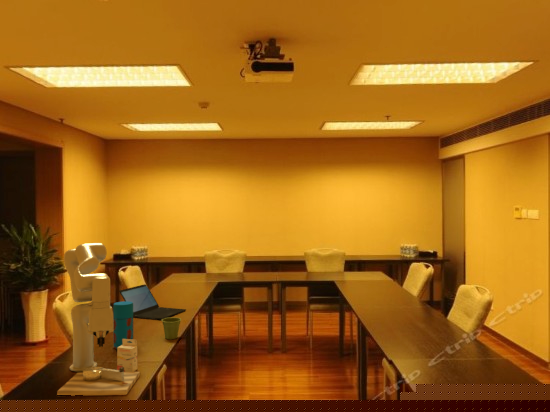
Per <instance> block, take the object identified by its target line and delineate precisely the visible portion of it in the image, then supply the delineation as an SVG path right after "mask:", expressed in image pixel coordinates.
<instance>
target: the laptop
mask: <svg viewBox="0 0 550 412" xmlns="http://www.w3.org/2000/svg"><path fill="white" fill-rule="evenodd" d="M118 292H119V294H120V295H121V297H122V298H123V301H129V302H133V317H135V318H138V319H145V320H146V319H147V320H157V321H158V320H159V321H162V319H164V318H172V317H173V316H176V315H178V313H179V314H180V313H183V311H184V312H186V311H187V309H186V308H174V307H173V308H172V307H160V306H159V304H158V302H157V300H156V298H155V296H154V295H153V293H152V292H151V290H150V288H149V287H148V285H147V284H145V283H144V284H140V285H136V286H132V287H129V288H128V287H127V288H124V289H121V290H118Z"/></svg>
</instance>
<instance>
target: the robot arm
mask: <svg viewBox="0 0 550 412" xmlns="http://www.w3.org/2000/svg"><path fill="white" fill-rule="evenodd" d="M106 257H107V248H106V245H104V243H102V242H93V243H91V242H90V243H82V244H78V245H77V246H76V248H72V249H68V250H66V251H65V253H64V255H63V262H64V263H63V264H64V267H65V270H66V271H67V273H68V276H69V281H70V288H71V297H72V301H74V302H76V303H81V304H76V305H74V306H73V307H72V308H71V310H70V318H71V323H72V349H73V350H72V364H71V365H70V366H69V370H70V371H72V372H76V373H81V372H83V371H84V370H85V369H87V368H91V367H98V363H97V361H94V359H95V354H94V353H95V347H94V346H95V345H94V343H95V342H94V337H96V339H97V345H98V347H99V348H101V347H104V345H105V340H106V339H105V337H106V336H107V335H108V334H109V333H113V331H114V329H113V306H111V278H110V276H108V274H107V273H106V272H105V273H104V272H103V273H93V272H94V271H96V270H97V269H98V267H99V265H100V263H101V262H103V261H104V260H106ZM85 302H87V303H85ZM100 332H101V333H102V334H101V335H100Z"/></svg>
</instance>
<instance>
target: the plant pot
mask: <svg viewBox="0 0 550 412" xmlns="http://www.w3.org/2000/svg"><path fill="white" fill-rule="evenodd" d="M181 321H182V318H180V317H173V316H171V317H168V318H164V319H162V320H161V322H162V325H163V332H164V338H165V339H166V340H174V339H175V340H176V339H177V338H178V335H179V331H180V330H179V329H180V324H181Z"/></svg>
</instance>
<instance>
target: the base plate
mask: <svg viewBox="0 0 550 412" xmlns="http://www.w3.org/2000/svg"><path fill="white" fill-rule="evenodd" d="M140 374H141V373H140V371H134V372H124V380H123V381H117V380H109V379H99V380H94V381H86V380H84V379H83V372H76V373H75V374H74V375H73V376H72V377H71V378H70V379H69V380H68V381H66V383H64V384H63V385H62V386H61V387H60V388H59V389H58V390H57V391H56V392H57V393H56V396H57V395H71V396H72V397H76V396H75V395H83V396H122V395H123V396H125V395H128V393H129V392H130V391H131V389H132V388H133V387H134V385H135V383H136V381H137V380H138V379H139V378H140Z"/></svg>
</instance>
